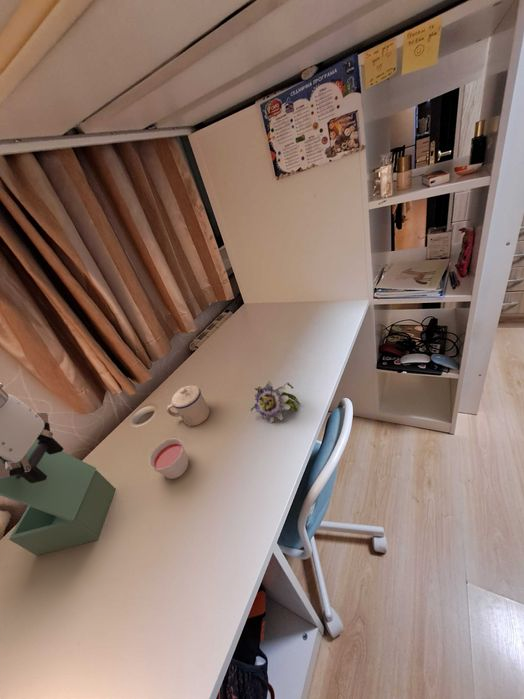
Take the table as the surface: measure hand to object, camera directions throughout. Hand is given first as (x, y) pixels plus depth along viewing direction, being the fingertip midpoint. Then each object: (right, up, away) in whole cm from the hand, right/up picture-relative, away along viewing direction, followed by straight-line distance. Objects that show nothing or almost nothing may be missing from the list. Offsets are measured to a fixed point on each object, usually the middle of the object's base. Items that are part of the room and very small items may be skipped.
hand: (48, 464), depth 60 cm
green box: (-1, -18, +12) cm, 22 cm away
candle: (+22, -7, +17) cm, 29 cm away
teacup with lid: (+23, +3, +31) cm, 39 cm away
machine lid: (-1, -4, +2) cm, 5 cm away
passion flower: (+49, +6, +23) cm, 55 cm away
